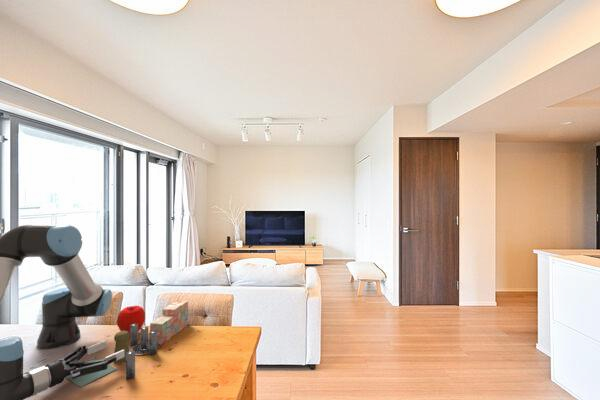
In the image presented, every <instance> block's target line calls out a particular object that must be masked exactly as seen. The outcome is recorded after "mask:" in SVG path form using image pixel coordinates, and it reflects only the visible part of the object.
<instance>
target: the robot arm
mask: <svg viewBox="0 0 600 400" xmlns="http://www.w3.org/2000/svg"><path fill="white" fill-rule="evenodd" d="M82 239H83V237H82V234H81V232H80V230H79V229H78V228H77V227H75V226H73V225H71V224H70V225H69V224H59V223H58V224H33V225H32V224H25V225H19V226H16V227H14V228H12V229H10V230H8V231H7V232H5V233H3V235H1V236H0V305H2V301H3V299H4V297H5V294H6V292H7V290H8V288H9V286H10V283H11V280H12V277H13V276H14V273H15V272H16V268H18V267H20V266H21V265H22V263H23V261H24V259H26V258H40V259H41V260H42V263H44V264H45V265H46V266H50V267H53V269H54V270H55V271H56V274H58V276H59V278H61V281H62V282H63V283H64V285H65V286H66V287H62V288H58V289H55V290H50V291H49V292H47V293H45V294H44V295H43V296H42V302H41V309H42V310H41V312H42V315H41V316H42V319H41V320H42V323H41V324H42V327H41V330H40V332H39V335H38V338H37V341H36V343H37V344H36V346H37V348H38V349H41V350H47V349H48V350H50V349H57V348H61V347H64V346H68V345H70V344H72V343H74V342H76V341H78V340H79V339H80V337H81V330H80V328H79V325H78V323H77V320H76V318H87V317H88V318H90V317H92V318H93V317H103V316H105V315H106V314H107V313H108V312H109V310H110V308H111V304H112V300H113V292H112V290H111V289H108V288H106V289H103V287H102V285H101V284H99V283H98V282H94V280H93V278H92V276H91V274H90V272H89V271H88V270H87V268H86V267H87V266H85V264H84V262H83V261H82V259H81V257H80V256H79V252H80V251H81V249H82V246H83V240H82ZM106 348H107V341H106V340H102V341H99V342H98V343H95V344H92V345H90V346H87V345H82V346H81V347H78V348H75V349H74V350H73V351H71V352H69V353H67V354H66V355H65V356H63V357H61V358H58V359H57V360H55V361H51V362H49V363H47V364H45V365H42V366H39V367H35V368H34V369H31V370H29V371H26V372H24V353H25V351H24V345H23V340H22V339H21V338H18V337H11V338H6V339H2V340H0V400H27V399H29V398H31V397H33V396H37V395H38V394H39V393H42V392H44V391H46V390H48V389H49V388H50V389H51V388H54V387H56V386H58V385H59V384H62V383H63V382H64V381H65V379H66V378H65V377H66V376H69V375H72V379H75V378H77V377H80V376H83V375H87V374H91V373H94V372H98V371H102V370H106V369H107V365H108V364H109V365H111V364H112V363H113V362H115V361H117V360H119V359H121V358H124V350H121V351H119V352H116V353H112V354H109V355H107V356H105V357H104V358H103V359H100V360H95V361H88V360H87V361H88V362H85V361H86V360H81V359H83V358H84V357H85V356H86V355H87V356H89V355H91V354H94V353H96V352H98V351H101V350H103V349H106ZM113 364H114V363H113Z"/></svg>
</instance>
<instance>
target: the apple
mask: <svg viewBox="0 0 600 400" xmlns="http://www.w3.org/2000/svg"><path fill="white" fill-rule="evenodd" d="M145 321H146V311H145V309H144V308H143V307H142V306H140V305H131V306H126V307H124V308H123V309H121V310H120V311H119V312H118V314H117V319H116V325H117V327H118V330H119V332H120V331H128V332H129V337H130V325H131V324H135V323H137V324H138V333H139V332H140V331H141V328H142V327H144V324H145Z"/></svg>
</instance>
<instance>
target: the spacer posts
mask: <svg viewBox="0 0 600 400" xmlns="http://www.w3.org/2000/svg"><path fill="white" fill-rule="evenodd" d="M136 345H137V346H138V345H139V332H138V324H137V323H135V324H131V325H130V336H129V348H133V347H134V346H135V347H137V346H136ZM147 348H148V349H147ZM141 349H142V350H143V349H147V350H148V355H149V356H156V355H157V354H158V344H157V331H151V332H150V331H149V326H142V327H141V329H140V350H141ZM142 350H141V351H142ZM135 377H136V351H135V350H129V351H128V352H127V353H126V362H125V380H126V381H130V380H133V379H135Z"/></svg>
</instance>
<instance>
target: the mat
mask: <svg viewBox="0 0 600 400" xmlns="http://www.w3.org/2000/svg"><path fill="white" fill-rule="evenodd" d="M95 360H101V359H99V358H98V357H95V356H94V357H92V358H91V359H88V360H84V361H85V362H88V361H95ZM117 370H118V369H117V368H116V367H114V366H112V365H111V364H108V365H107V369H106V370H102V371H98V372H94V373H91V374H87V375H83V376H80V377H77V378H75V379H72V375H69V376H66V377H65V379H67V380H68V381H70V382H72V383H73V384H74V385H75V386H77V387H79V388H82V387H84V386H87V385H89V384H91V383H93V382H95V381H97V380H99V379H101V378H103V377H106V376H107V375H109V374H111V373H113V372H116V371H117Z"/></svg>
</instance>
